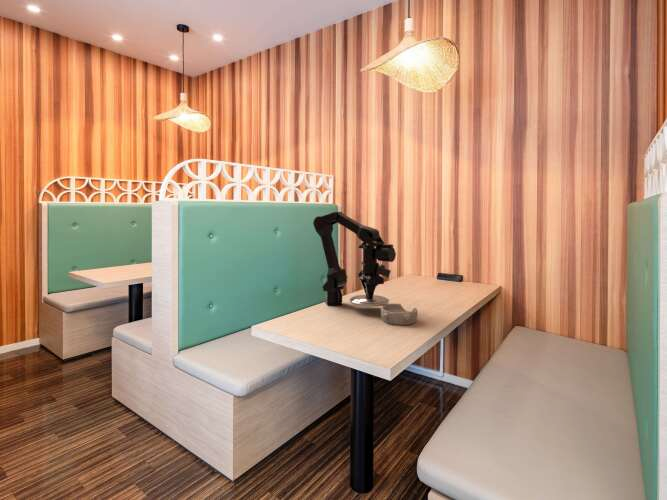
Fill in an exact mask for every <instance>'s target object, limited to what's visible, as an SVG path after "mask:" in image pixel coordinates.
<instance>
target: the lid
mask: <svg viewBox="0 0 667 500" xmlns="http://www.w3.org/2000/svg"><path fill="white" fill-rule="evenodd" d="M365 291H366V294H359V295H354V296H352V297H350V298H349V302H350V303H351V304H352V305H356V306H359V307H382V306H383V305H386V304H390V299H389V298H387V297H385V296H382V295H377V294H373V297H372V299H370V298H369V296H368V293H367V290H366V288H365ZM365 291H364V292H365Z"/></svg>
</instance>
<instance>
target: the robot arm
mask: <svg viewBox="0 0 667 500" xmlns="http://www.w3.org/2000/svg"><path fill="white" fill-rule="evenodd" d="M312 223H313V227H314V230H315V232H316V234H318V236H319V237H320V240H321V243H322V247H323V252H324V256H325V260H326V264H327V269H328V270H327V273H326V279H327V280H326V282H325V283H324V284H323V285H322V290H323V292H325V302H324V303H325V304H326V305H327V306H328V307H330V306H342V305H343V292H342V290H344V289H345V285H346V283H348V280H347V278H348V275H347V271H346V269H345V268H342V267H340V264H339V263H340V262H339V259H338V255H337V251H336V247H335V242H334V239H333V230H334V225H336V224H339V225H341V226H343V227H344V228H346V229H348V230H349V231H350V232H353V234H355V235H356V237H357V238H358V239H359V240H360V241H361V244H360V245H359V246H358V249H362V261H361V265H362V269H358V270H357V271H356V277H357V278H359V281H360V283H361V286H362V288H363V290H364V291H363V292H364V293H365V294H364V295H366V291H365V288H366V290H367V293H368V296H369V298H370V299H372V297H373V295H375V290H376V288H377V286H379V285H385V278H383V276H384V277H386V278H389V277H390V274H391V272H392V270H391V269H388V268H386V265H384V264H380V263H379V262H378V261H380V262H389V263H393V262H394V261H395V259H396V256H397V255H396V254H397V252H396V250H395V248H394V244H385V241H384V240H383V238H382V237H381V234H380V231H379V230H378V229H376V228H374V227H371V226H367V225H363V224H362V223H359V222H358V221H356V220H355V219H352V217H349V216H347V215H346V214H344V213H343V212H342V211H333V212H331V213H328V214H325V215H320V216H319V215H317V216H315V218H314V220H313V222H312Z"/></svg>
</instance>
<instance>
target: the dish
mask: <svg viewBox="0 0 667 500" xmlns="http://www.w3.org/2000/svg"><path fill="white" fill-rule="evenodd" d="M380 307H381V308H380V319H381V320H382V321H384V323H387V324H390V325H398V326H399V325H402V326H403V325H404V326H407V325H413V324H414V323H417V320H418V308H416V307H414V308H413V309H412V310H411V311H407V310H406V309H405V308H404V307H403V306H402V304H401V303H388V304H386V305H383V306H380Z"/></svg>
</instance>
